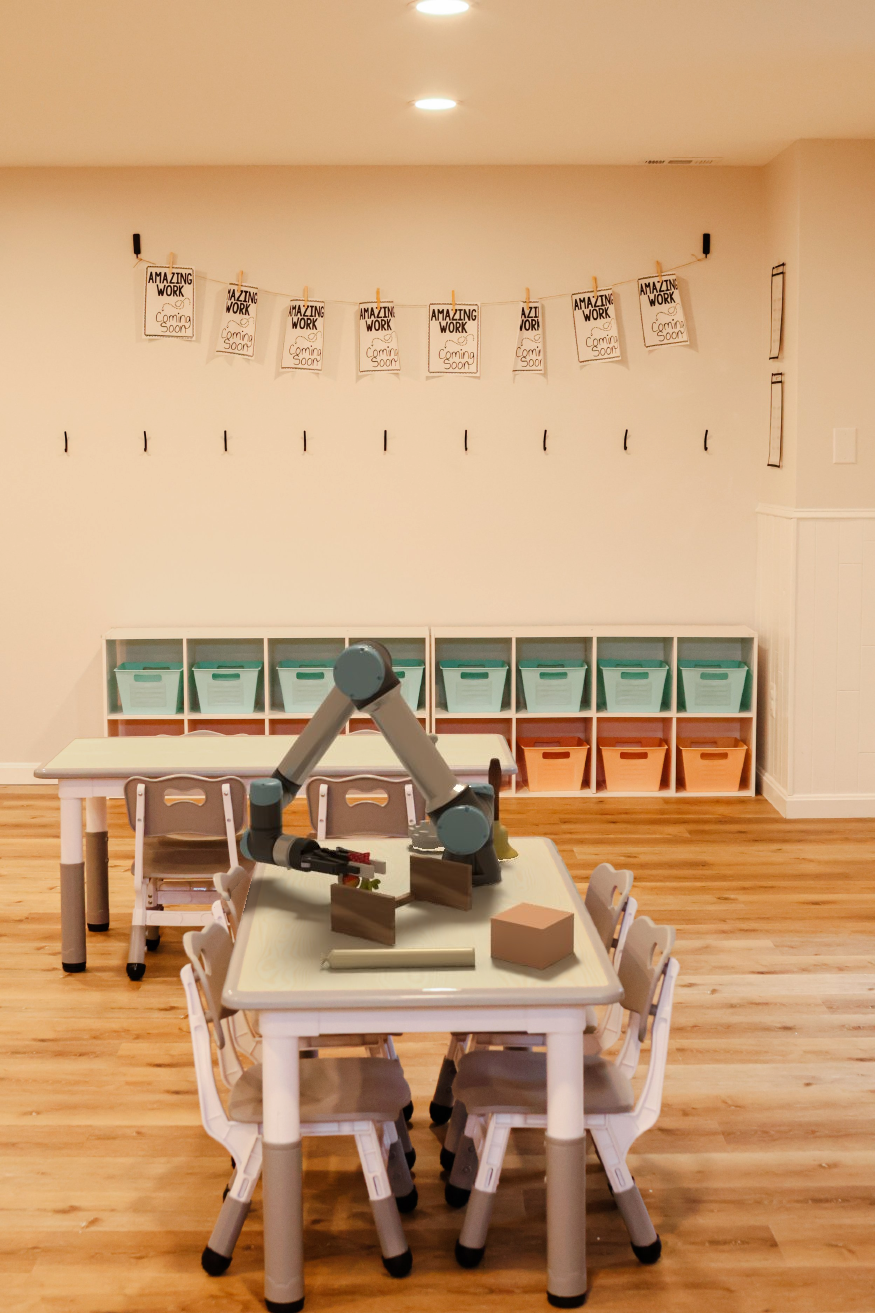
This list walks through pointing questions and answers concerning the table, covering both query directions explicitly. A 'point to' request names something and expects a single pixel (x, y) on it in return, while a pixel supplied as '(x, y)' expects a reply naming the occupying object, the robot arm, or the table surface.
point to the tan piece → (400, 958)
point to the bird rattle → (355, 880)
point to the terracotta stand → (532, 935)
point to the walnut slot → (399, 899)
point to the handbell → (500, 831)
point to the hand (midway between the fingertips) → (378, 870)
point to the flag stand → (425, 826)
